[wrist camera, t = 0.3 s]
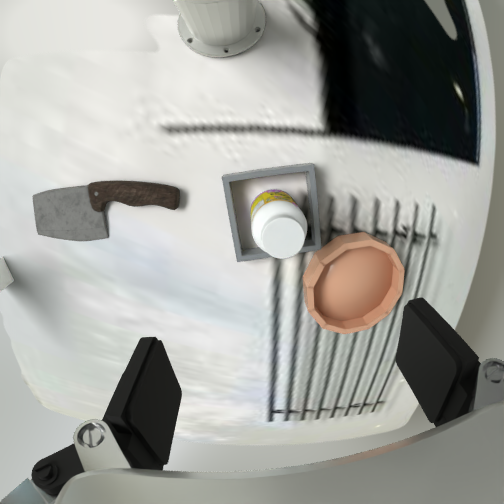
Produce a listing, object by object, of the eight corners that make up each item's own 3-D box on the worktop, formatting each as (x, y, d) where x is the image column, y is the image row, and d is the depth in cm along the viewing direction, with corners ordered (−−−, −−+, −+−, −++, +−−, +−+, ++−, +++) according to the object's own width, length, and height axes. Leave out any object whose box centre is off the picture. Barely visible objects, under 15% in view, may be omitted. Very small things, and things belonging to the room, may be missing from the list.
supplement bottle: (303, 204, 43) (326, 231, 31) (278, 239, 45) (290, 278, 33) (266, 179, 41) (276, 196, 29) (241, 216, 43) (240, 247, 31)
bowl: (299, 241, 45) (303, 249, 41) (396, 227, 44) (406, 233, 41) (306, 328, 51) (309, 340, 48) (390, 311, 50) (398, 321, 47)
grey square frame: (223, 174, 41) (221, 177, 38) (309, 162, 40) (313, 164, 38) (237, 255, 45) (237, 262, 43) (317, 243, 45) (321, 249, 43)
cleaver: (178, 171, 40) (175, 173, 39) (185, 234, 44) (182, 239, 42) (32, 193, 41) (25, 195, 39) (42, 243, 44) (36, 247, 42)
